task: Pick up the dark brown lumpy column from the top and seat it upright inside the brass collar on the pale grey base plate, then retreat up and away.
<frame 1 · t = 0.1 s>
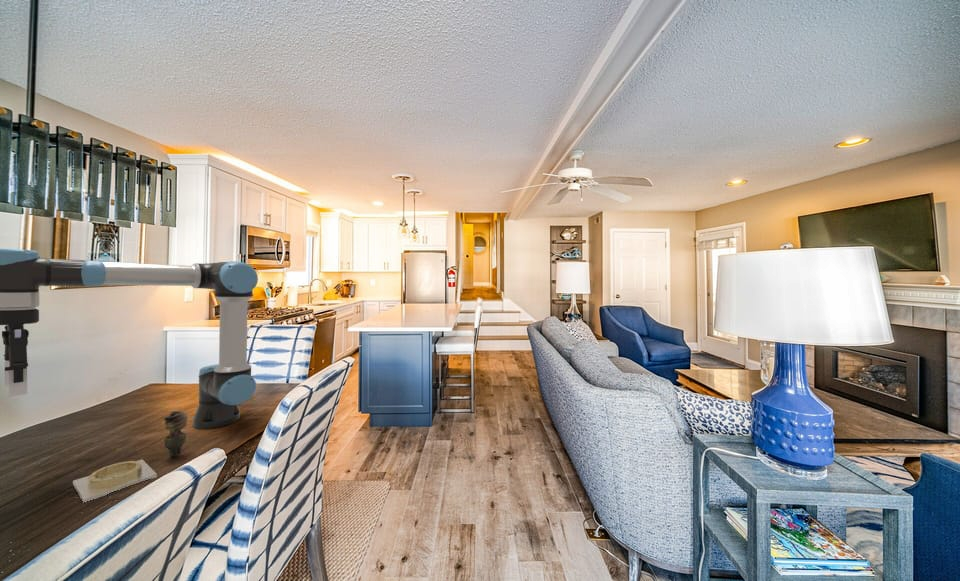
hand: (15, 389, 88), 28 cm above the table, tool pointing down, fingers open, 13 cm apart
bulb socket: (115, 480, 96), on the table
dark brown lumpy column: (175, 457, 110), on the table
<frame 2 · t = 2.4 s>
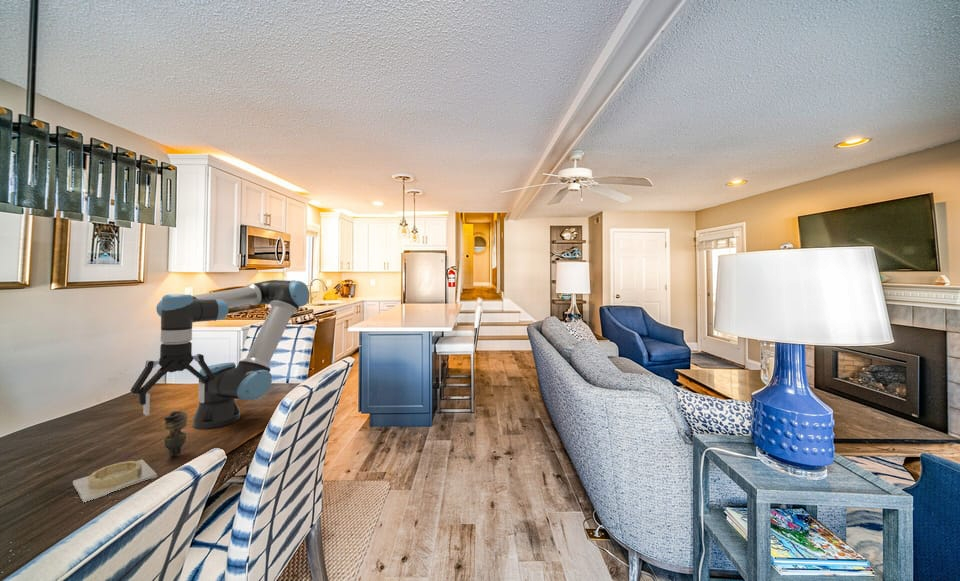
hand: (175, 408, 109), 16 cm above the table, tool pointing down, fingers open, 13 cm apart
nothing on the table moved.
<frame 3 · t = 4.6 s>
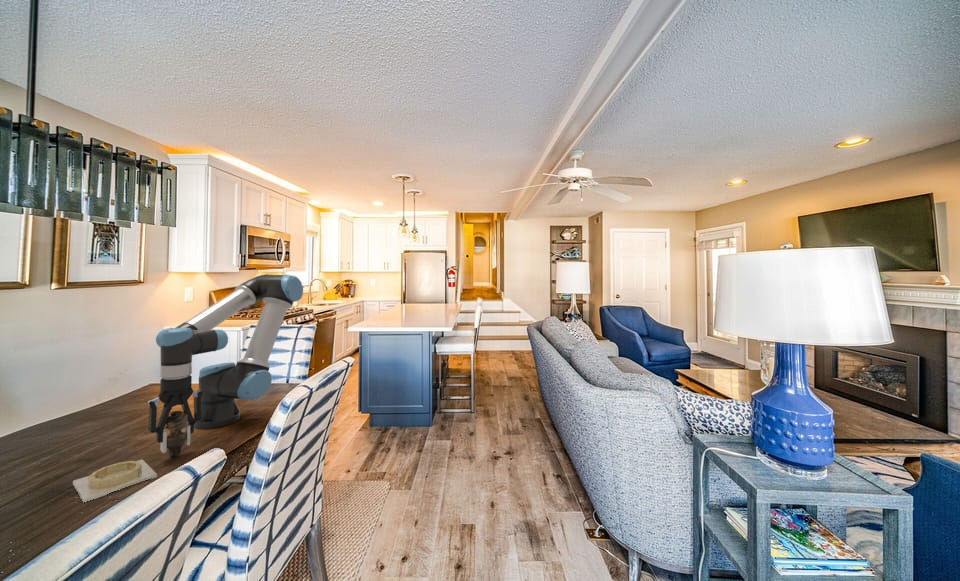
hand: (175, 447, 109), 3 cm above the table, tool pointing down, fingers closed on dark brown lumpy column, 5 cm apart
dark brown lumpy column: (175, 457, 110), on the table, touching gripper
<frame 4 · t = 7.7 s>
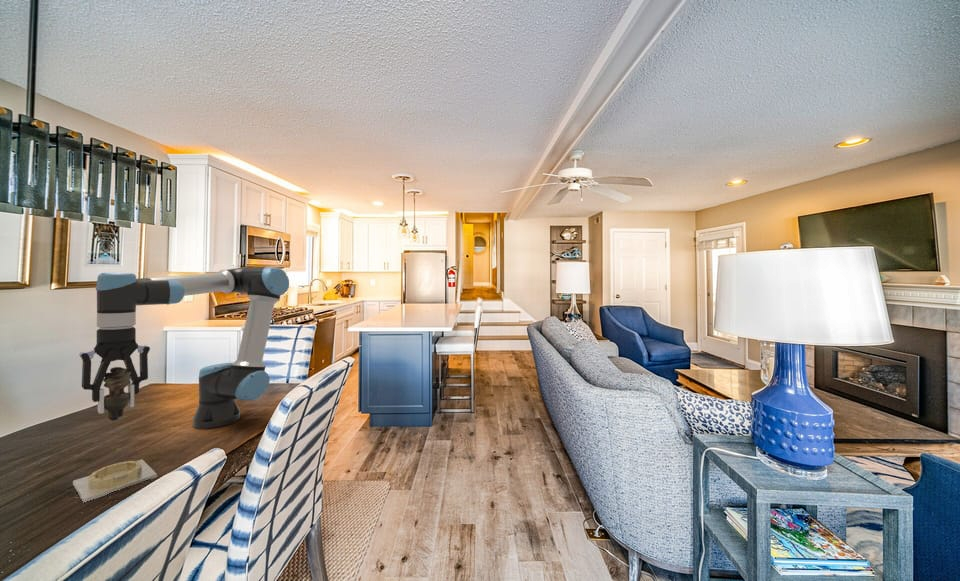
hand: (116, 408, 96), 21 cm above the table, tool pointing down, fingers closed on dark brown lumpy column, 5 cm apart
dark brown lumpy column: (116, 420, 96), point 17 cm above the table, touching gripper
when the fingers open (5 cm above the table, at t = 11.2 s): dark brown lumpy column stays where it is, resting on bulb socket.
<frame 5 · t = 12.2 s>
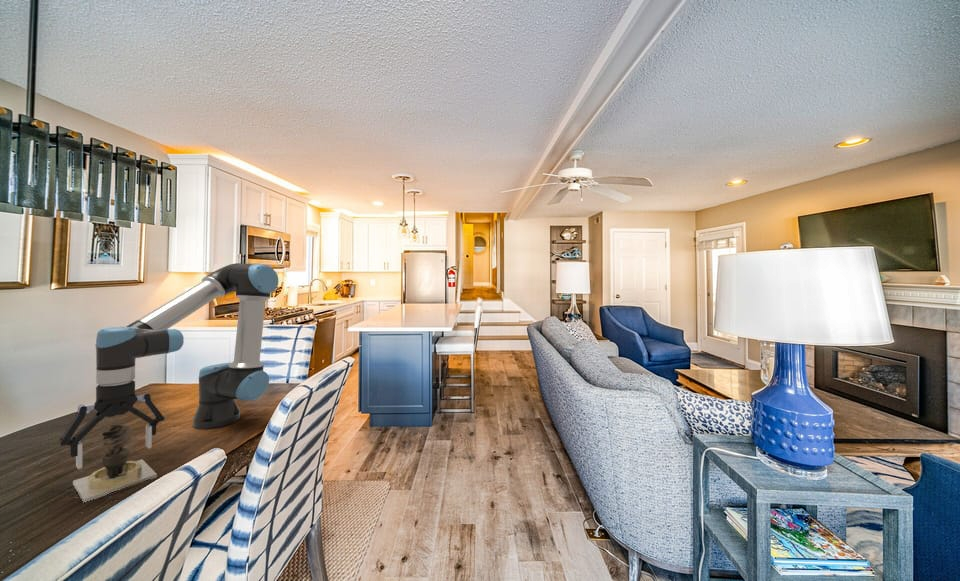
hand: (115, 456, 96), 7 cm above the table, tool pointing down, fingers open, 13 cm apart
dark brown lumpy column: (116, 477, 96), point 1 cm above the table, touching bulb socket
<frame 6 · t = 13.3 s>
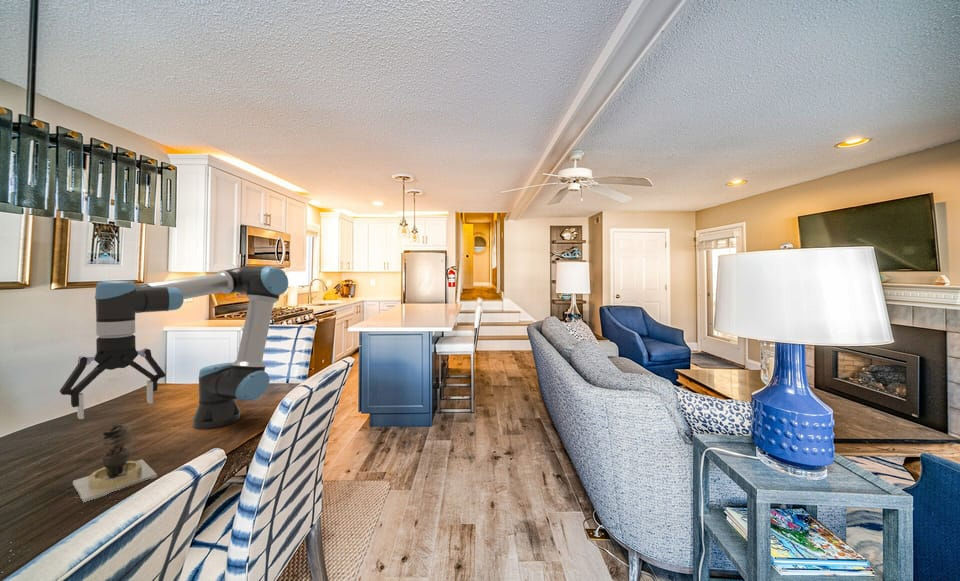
hand: (117, 409, 96), 20 cm above the table, tool pointing down, fingers open, 13 cm apart
nothing on the table moved.
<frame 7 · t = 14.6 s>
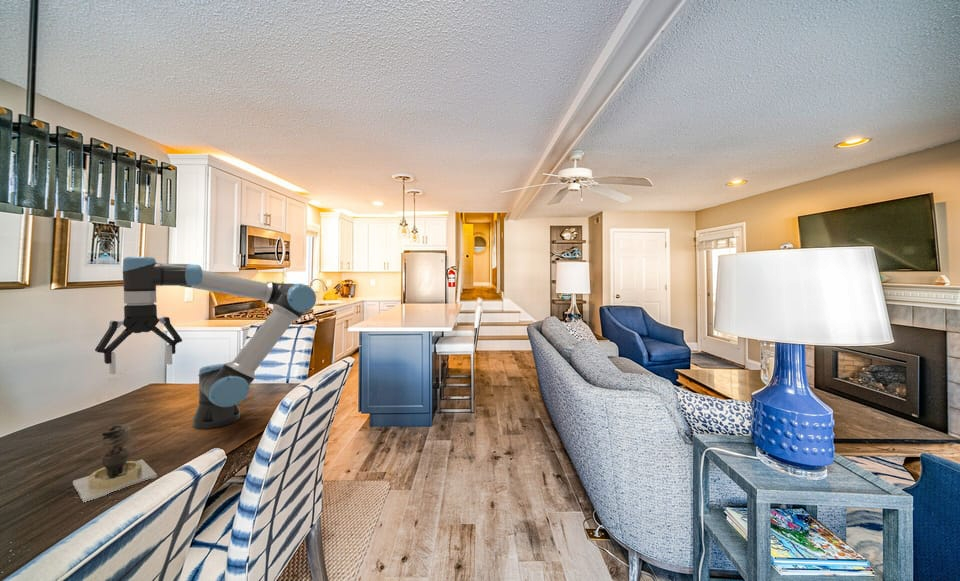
hand: (142, 368, 111), 28 cm above the table, tool pointing down, fingers open, 13 cm apart
nothing on the table moved.
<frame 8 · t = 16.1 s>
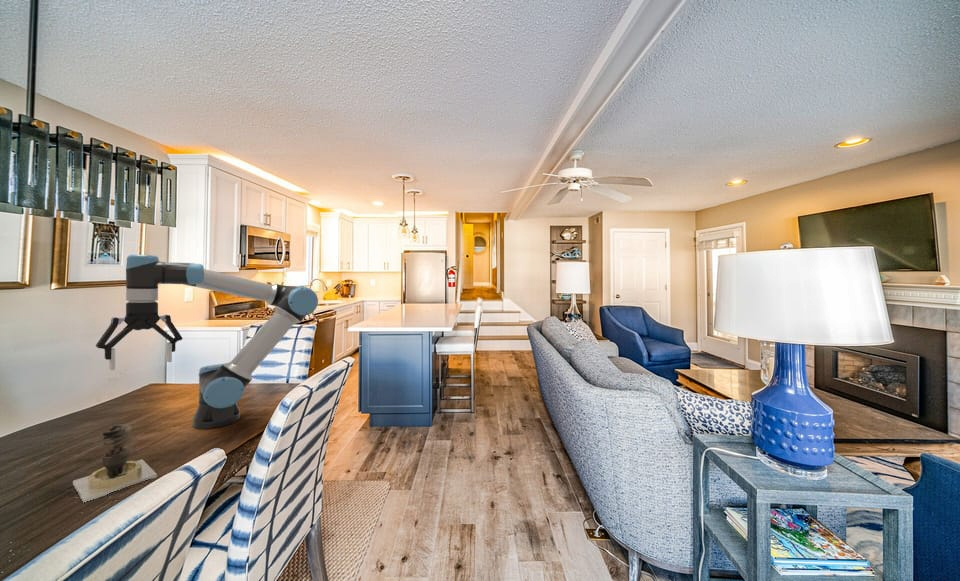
hand: (142, 365, 112), 29 cm above the table, tool pointing down, fingers open, 13 cm apart
nothing on the table moved.
at the end: dark brown lumpy column 0.2 cm off-centre on the bulb socket, point 0.8 cm above the bulb socket's base; dark brown lumpy column tilted 0°; the gripper is holding nothing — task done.
